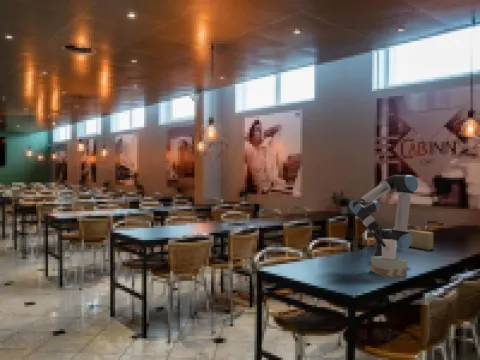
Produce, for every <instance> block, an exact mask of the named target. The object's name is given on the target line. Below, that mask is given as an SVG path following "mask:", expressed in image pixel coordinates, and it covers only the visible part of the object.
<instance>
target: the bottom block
mask: <svg viewBox="0 0 480 360" xmlns="http://www.w3.org/2000/svg"><path fill="white" fill-rule="evenodd" d="M369 265H370V268H369V270H370V272H372V273H374V272H375V274H377V275H380V276H382V277H385V278H388V277H389V278H391V277H405V276H407V272H408V271H407V270H408V268H407V269H389V270H385V269H382V268H380V267H377V266H374V265H372V264H371V263H370V264H369Z"/></svg>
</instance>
